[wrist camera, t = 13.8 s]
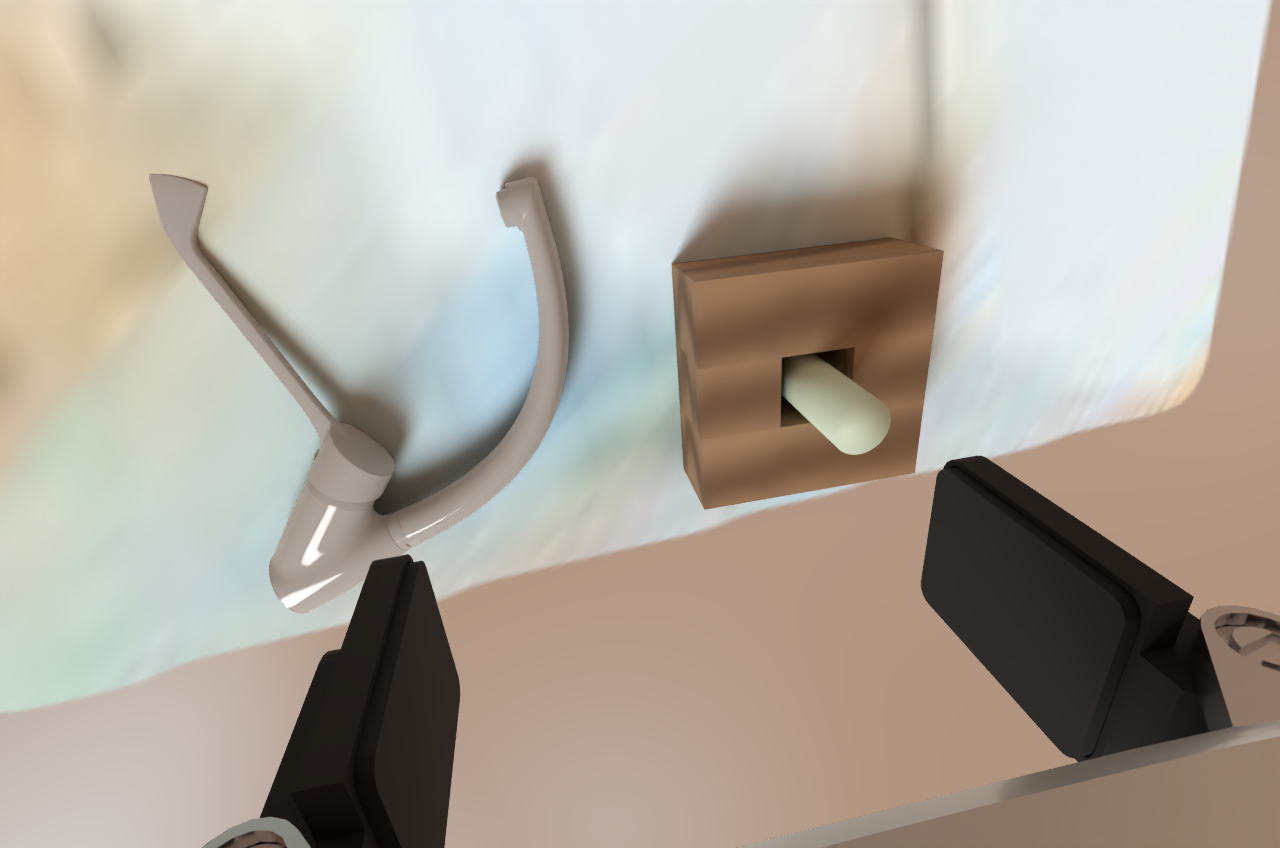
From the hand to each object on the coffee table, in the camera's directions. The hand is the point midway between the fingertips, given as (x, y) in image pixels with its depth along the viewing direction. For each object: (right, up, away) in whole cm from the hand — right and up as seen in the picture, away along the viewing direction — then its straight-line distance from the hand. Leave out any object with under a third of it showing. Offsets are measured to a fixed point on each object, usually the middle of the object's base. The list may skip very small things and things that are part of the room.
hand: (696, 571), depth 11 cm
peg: (+10, +7, +35) cm, 37 cm away
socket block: (+10, +7, +35) cm, 37 cm away
